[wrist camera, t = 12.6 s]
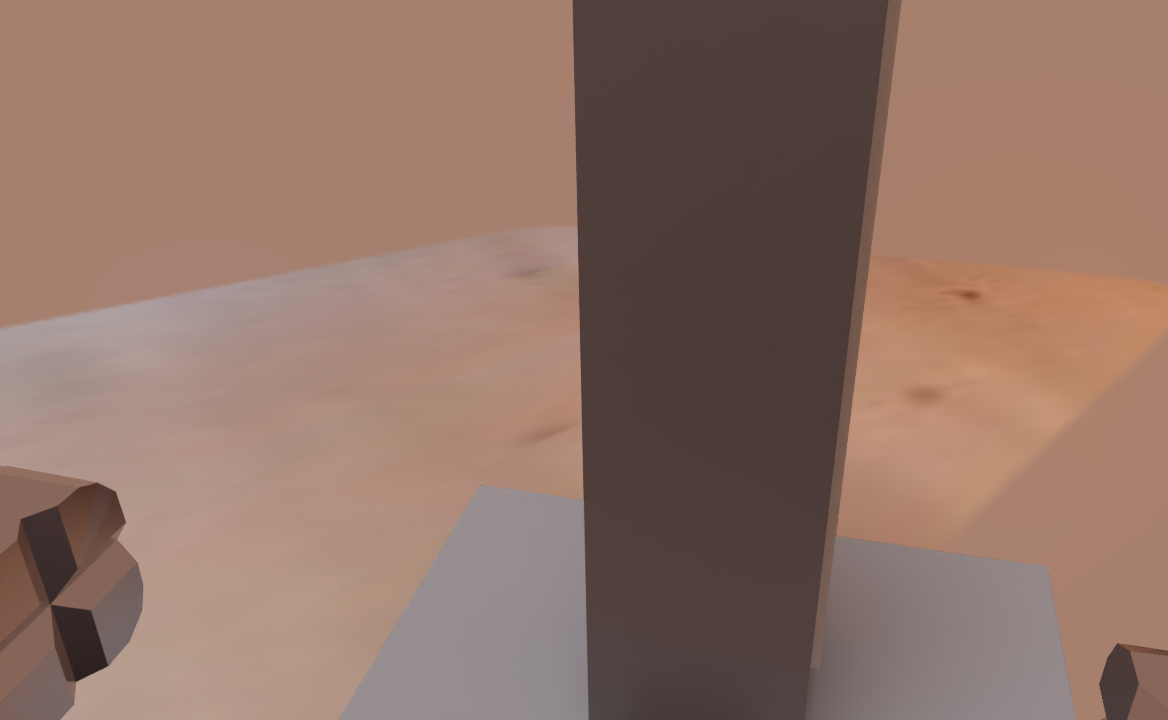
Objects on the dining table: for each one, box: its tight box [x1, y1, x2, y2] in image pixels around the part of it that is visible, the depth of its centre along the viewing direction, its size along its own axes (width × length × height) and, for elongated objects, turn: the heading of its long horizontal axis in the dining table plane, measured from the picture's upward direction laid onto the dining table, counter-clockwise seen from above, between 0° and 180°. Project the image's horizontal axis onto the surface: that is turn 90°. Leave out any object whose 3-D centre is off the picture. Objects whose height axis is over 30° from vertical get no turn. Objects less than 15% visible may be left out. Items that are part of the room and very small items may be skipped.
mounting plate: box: [339, 485, 1076, 720], centre depth 25 cm, size 16×12×2 cm
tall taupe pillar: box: [573, 0, 902, 720], centre depth 20 cm, size 5×5×20 cm
